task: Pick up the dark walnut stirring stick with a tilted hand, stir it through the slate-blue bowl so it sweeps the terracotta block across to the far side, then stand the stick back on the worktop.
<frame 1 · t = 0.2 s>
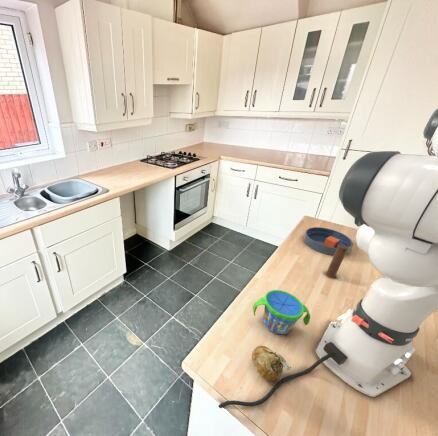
bowl: (325, 245, 114), on the counter
snack cup: (275, 325, 77), on the counter
onion: (264, 370, 65), on the counter
block: (330, 246, 112), point 1 cm above the counter, touching bowl
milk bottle: (377, 246, 113), on the counter
stick: (330, 275, 96), on the counter
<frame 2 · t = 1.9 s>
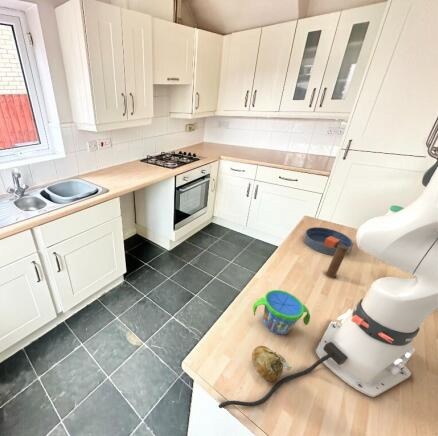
hand: (388, 243, 84), 18 cm above the counter, tool tilted 45°, fingers open, 8 cm apart
nothing on the counter moved.
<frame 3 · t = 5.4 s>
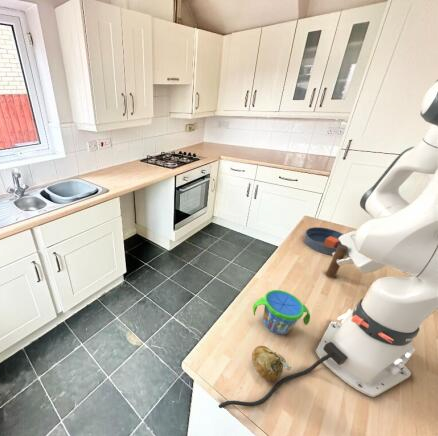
hand: (335, 259, 93), 8 cm above the counter, tool tilted 45°, fingers closed on stick, 3 cm apart
stick: (330, 275, 96), on the counter, touching gripper
everything else where it was.
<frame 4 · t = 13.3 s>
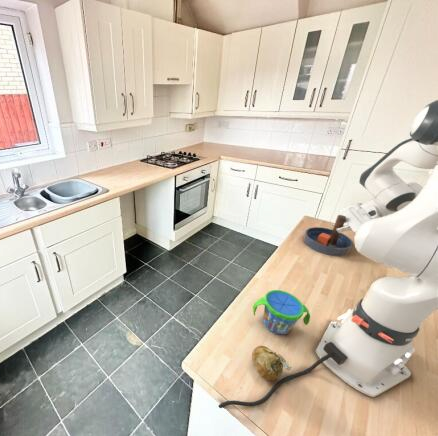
hand: (335, 228, 108), 10 cm above the counter, tool tilted 45°, fingers closed on stick, 3 cm apart
block: (323, 242, 115), point 1 cm above the counter, touching bowl, stick
stick: (332, 243, 111), point 2 cm above the counter, touching block, gripper
everything else where it was.
when the fingers open (8 cm above the counter, at t = 22.3 s): stick stays where it is, on the counter.
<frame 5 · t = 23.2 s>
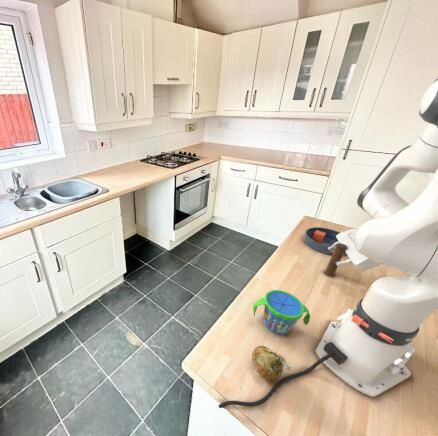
hand: (332, 257, 93), 8 cm above the counter, tool tilted 45°, fingers open, 8 cm apart
block: (317, 240, 117), point 1 cm above the counter, touching bowl
stick: (329, 273, 97), on the counter
everything else where it was.
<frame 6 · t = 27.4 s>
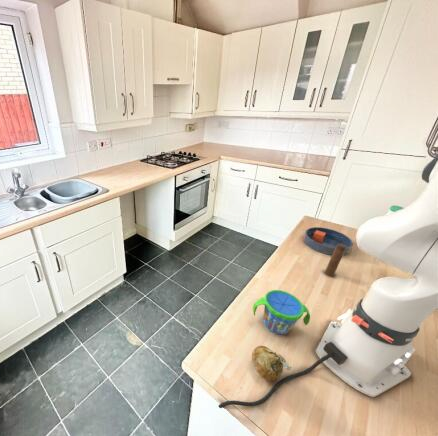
hand: (387, 238, 84), 19 cm above the counter, tool tilted 45°, fingers open, 8 cm apart
nothing on the counter moved.
at the end: block moved 5.9 cm from its start; block inside the target area in the bowl (3.9 cm from its centre), point 0.6 cm above the bowl's base; stick inside the target area (0.2 cm from its centre), on the counter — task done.
